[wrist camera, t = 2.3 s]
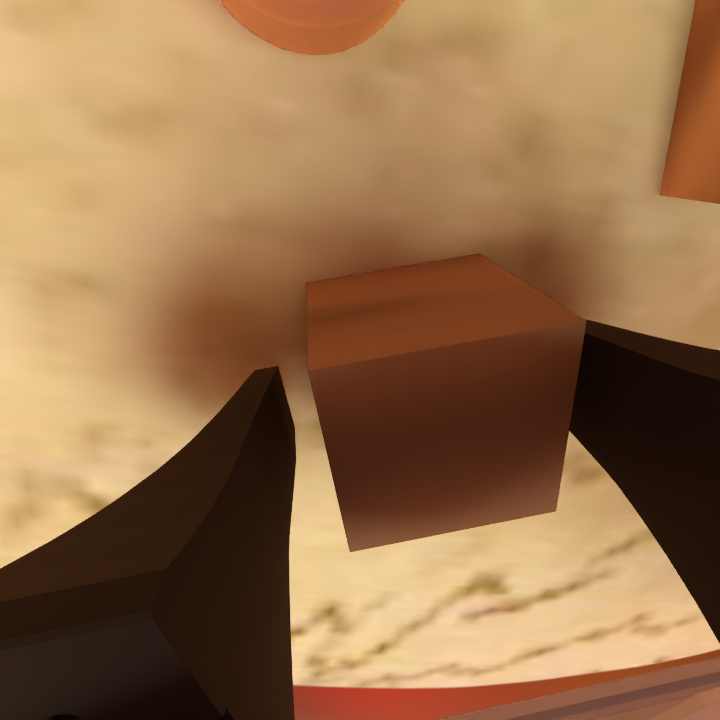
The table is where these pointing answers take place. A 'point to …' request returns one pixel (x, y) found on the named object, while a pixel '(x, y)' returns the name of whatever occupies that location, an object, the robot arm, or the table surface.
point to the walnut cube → (441, 396)
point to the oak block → (697, 114)
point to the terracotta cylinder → (313, 22)
